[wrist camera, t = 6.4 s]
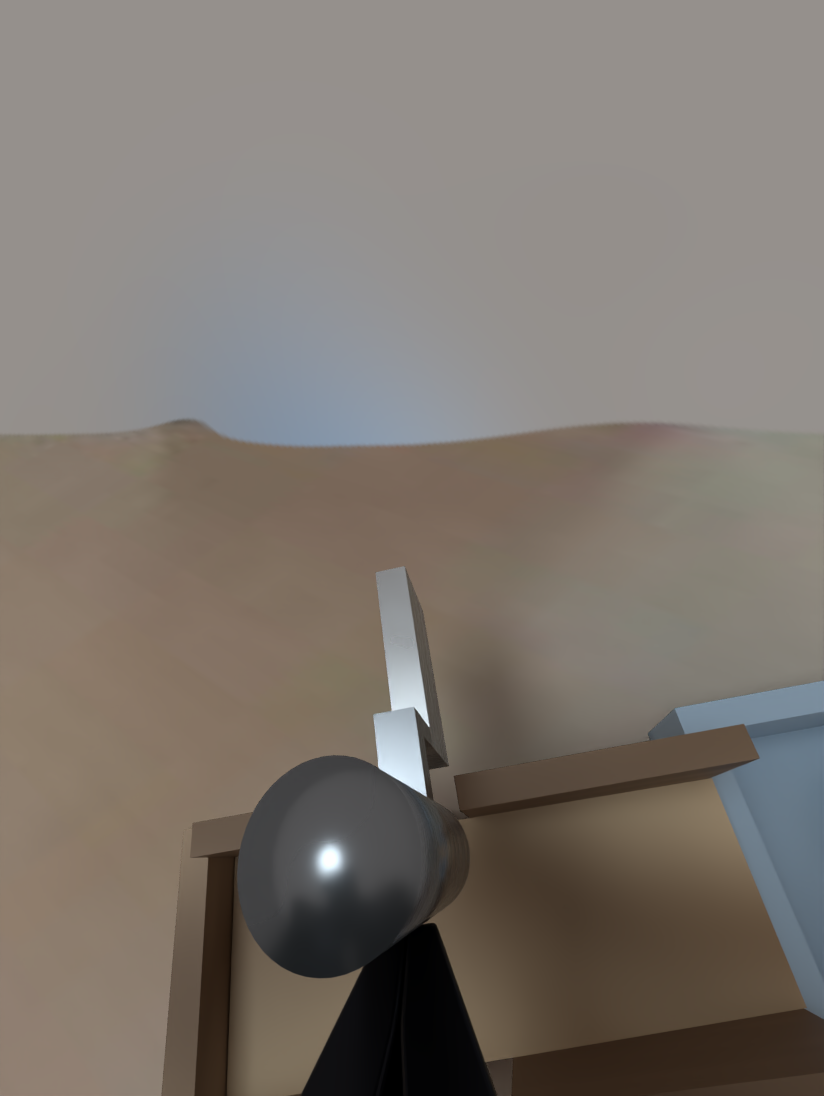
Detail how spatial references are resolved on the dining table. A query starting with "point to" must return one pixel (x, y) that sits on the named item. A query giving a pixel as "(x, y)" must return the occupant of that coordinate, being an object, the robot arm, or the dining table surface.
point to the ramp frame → (538, 942)
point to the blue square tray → (777, 812)
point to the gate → (359, 826)
